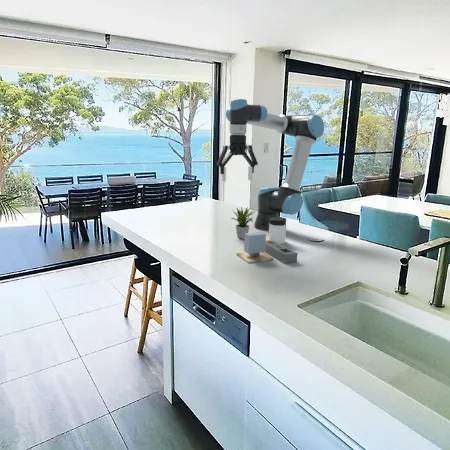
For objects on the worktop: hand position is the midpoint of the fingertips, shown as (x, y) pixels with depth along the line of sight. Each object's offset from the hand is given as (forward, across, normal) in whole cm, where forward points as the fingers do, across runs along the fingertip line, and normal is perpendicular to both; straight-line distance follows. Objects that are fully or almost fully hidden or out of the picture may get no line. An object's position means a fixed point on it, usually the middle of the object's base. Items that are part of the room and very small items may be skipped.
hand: (237, 180), depth 177 cm
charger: (+30, -1, -23) cm, 38 cm away
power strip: (+31, +10, -21) cm, 38 cm away
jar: (+31, +20, -6) cm, 37 cm away
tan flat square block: (+30, -1, -23) cm, 38 cm away
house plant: (+31, +7, +6) cm, 32 cm away
